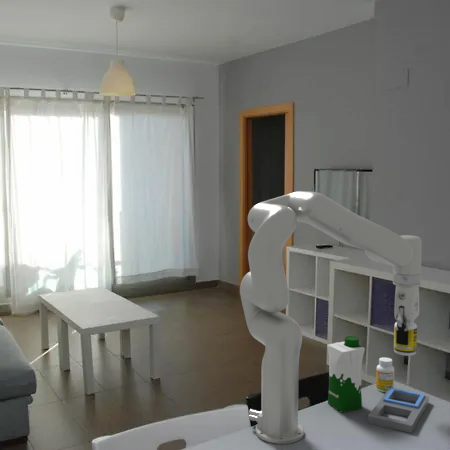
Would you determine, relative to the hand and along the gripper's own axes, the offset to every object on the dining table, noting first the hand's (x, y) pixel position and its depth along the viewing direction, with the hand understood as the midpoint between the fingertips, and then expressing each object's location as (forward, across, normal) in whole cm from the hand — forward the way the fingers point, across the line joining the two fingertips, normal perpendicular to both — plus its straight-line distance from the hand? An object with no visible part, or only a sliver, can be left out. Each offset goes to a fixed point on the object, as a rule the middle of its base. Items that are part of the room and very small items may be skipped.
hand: (405, 340), depth 159 cm
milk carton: (+20, -8, +15) cm, 26 cm away
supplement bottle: (+20, +10, +8) cm, 24 cm away
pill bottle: (+4, 0, 0) cm, 4 cm away
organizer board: (+20, -4, 0) cm, 20 cm away
